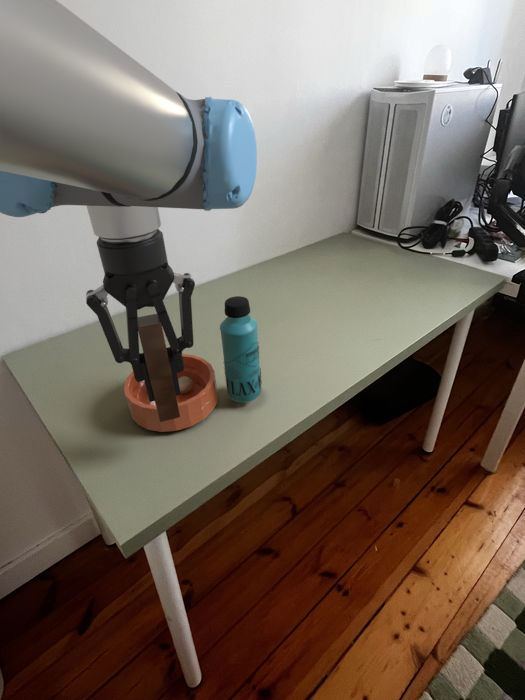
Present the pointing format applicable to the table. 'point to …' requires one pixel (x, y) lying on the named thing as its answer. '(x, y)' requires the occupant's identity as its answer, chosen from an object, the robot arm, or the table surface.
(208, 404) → the bowl
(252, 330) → the beverage bottle
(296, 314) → the table surface
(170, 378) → the stick
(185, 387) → the bead
